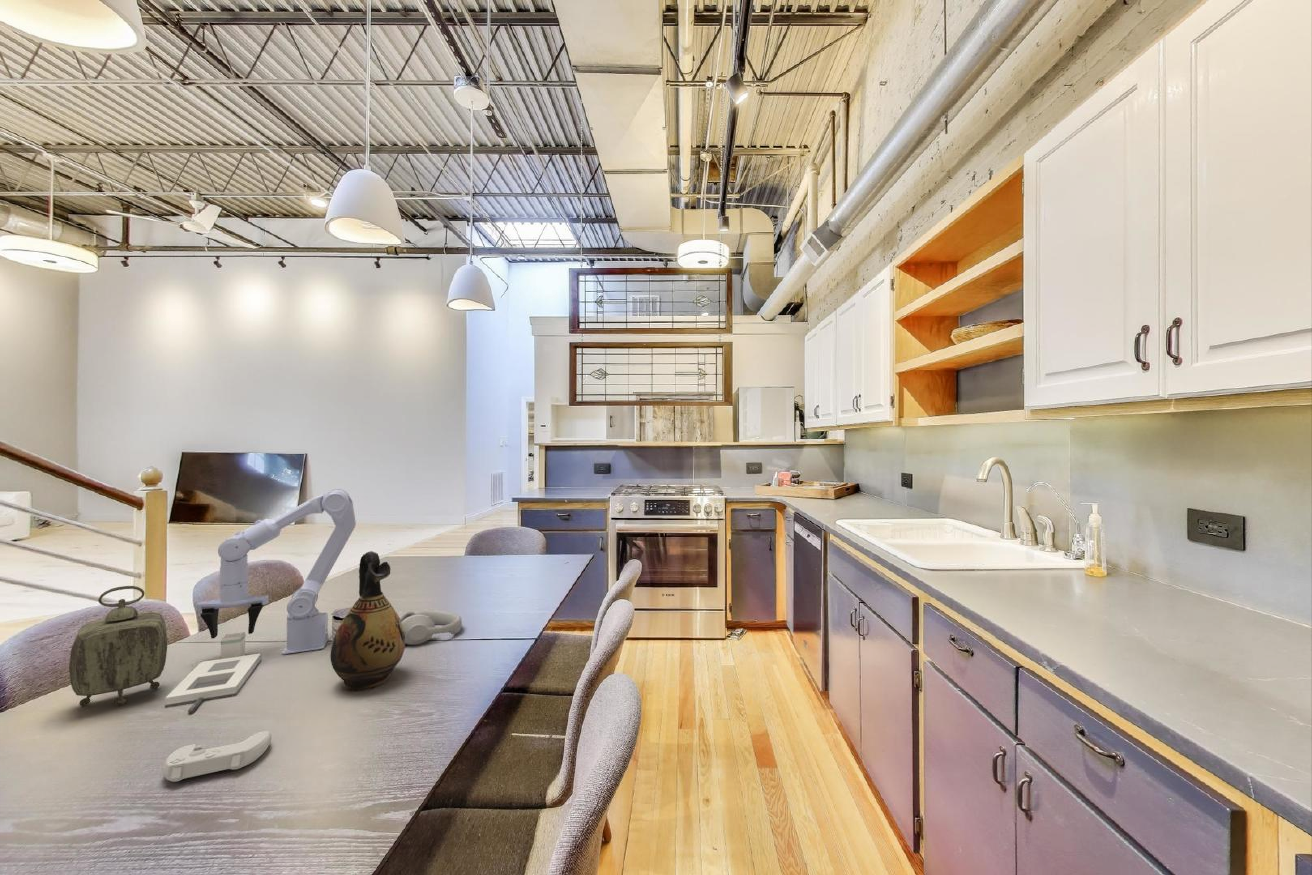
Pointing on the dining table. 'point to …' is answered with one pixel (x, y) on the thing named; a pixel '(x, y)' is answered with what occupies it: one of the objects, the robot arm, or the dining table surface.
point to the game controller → (214, 757)
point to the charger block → (233, 645)
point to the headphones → (427, 624)
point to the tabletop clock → (118, 651)
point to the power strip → (213, 681)
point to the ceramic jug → (368, 632)
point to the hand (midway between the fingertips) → (232, 634)
